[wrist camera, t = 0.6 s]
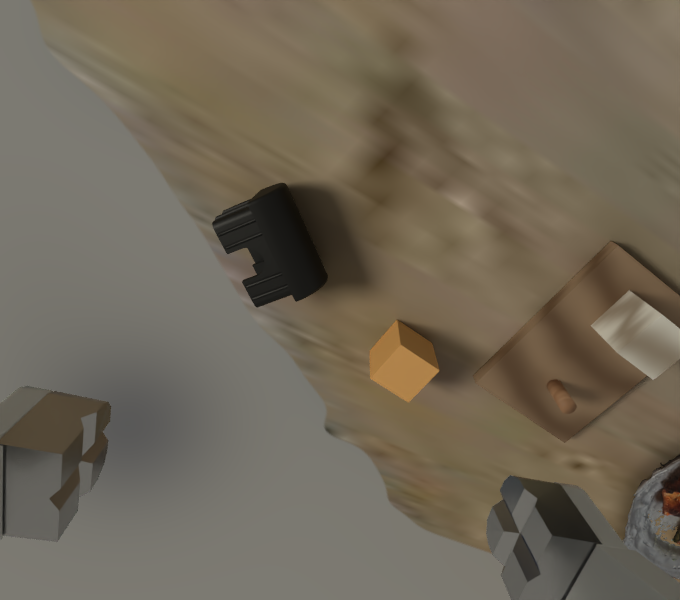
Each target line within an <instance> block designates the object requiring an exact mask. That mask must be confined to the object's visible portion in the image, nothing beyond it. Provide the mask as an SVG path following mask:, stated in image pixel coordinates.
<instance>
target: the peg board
mask: <svg viewBox="0 0 680 600" xmlns="http://www.w3.org/2000/svg"><path fill="white" fill-rule="evenodd" d="M679 359H680V296H679V295H678V294H677V293H676V292H674V291H673V290H672V289H671V288H669V287H668V286H667V285H666V284H665V283H663V282H662V281H661V280H660V279H658V278H657V277H656V276H655V275H654V274H652V273H651V272H650V271H649V270H648V269H646V268H645V267H644V266H643V265H641V264H640V263H639V262H638V261H637V260H635V259H634V258H633V257H632V256H631V255H629V254H628V253H627V252H626V251H624V250H623V249H622V248H621V247H620V246H618V245H617V244H615V243H613V242H612V241H610V242H609V243H608V244H607V245H606V246H605V247H604V248H603V249H602V250H601V251H600V252H599V253H598V254H597V255H596V256H595V257H594V258H593V259H592V260H591V261H590V262H589V263H588V264H587V265H586V266H585V267H583V268H582V269H581V270H580V271H579V272H578V273H577V274H576V275H575V276H574V277H573V278H572V279H571V280H570V281H569V282H568V283H567V284H566V285H565V286H564V287H563V288H562V289H561V290H560V291H559V292H558V293H557V294H556V295H555V296H554V297H553V298H552V299H551V300H550V301H549V302H548V303H547V304H546V305H545V306H544V307H543V308H542V309H541V310H540V311H539V312H538V313H537V314H536V315H534V316H533V317H532V318H531V319H530V320H529V321H528V322H527V323H526V324H525V325H524V326H523V327H522V328H521V329H520V330H519V331H518V332H517V333H516V334H515V335H514V336H513V337H512V338H511V339H510V340H509V341H508V342H507V343H506V344H505V345H504V346H503V347H502V348H501V349H500V350H499V351H498V352H497V353H496V354H495V355H494V356H493V357H492V358H491V359H490V360H489V361H488V362H486V363H485V364H484V365H483V366H482V367H481V368H480V369H479V370H478V371H477V372H476V373H475V374H474V375H473V377H474V380H475V382H476V384H478V385H479V386H481V387H482V388H484V389H485V390H487V391H488V392H490V393H491V394H493V395H494V396H496V397H497V398H499V399H500V400H502V401H503V402H505V403H506V404H508V405H509V406H511V407H512V408H514V409H515V410H517V411H518V412H519V413H521V414H522V415H524V416H525V417H527V418H528V419H530V420H531V421H533V422H534V423H536V424H537V425H539V426H540V427H542V428H543V429H545V430H546V431H548V432H549V433H551V434H552V435H554V436H555V437H557V438H558V439H560V440H561V441H563V442H564V443H565V442H566V441H568V440H569V439H570V438H571V437H572V436H574V435H575V434H576V433H577V432H579V431H580V430H581V429H582V428H584V427H585V426H586V425H587V424H588V423H590V422H591V421H592V420H593V419H595V418H596V417H597V416H598V415H600V414H601V413H602V412H603V411H604V410H606V409H607V408H608V407H609V406H611V405H612V404H613V403H614V402H616V401H617V400H618V399H619V398H620V397H622V396H623V395H624V394H625V393H627V392H628V391H629V390H630V389H632V388H633V387H634V386H635V385H636V384H638V383H639V382H640V381H641V380H643V379H644V378H645V377H646V376H649V377H650V378H651V379H653V380H654V379H655V378H657V377H658V376H659V375H660V374H662V373H663V372H664V371H665V370H667V369H668V368H669V367H670V366H672V365H673V364H674V363H675V362H676V361H678V360H679Z"/></svg>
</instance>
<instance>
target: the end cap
mask: <svg viewBox="0 0 680 600" xmlns="http://www.w3.org/2000/svg"><path fill="white" fill-rule="evenodd" d="M212 225H213V228H214V230H215V232H216V234H217V236H218V238H219V240H220V242H221V244H222V245H223V247H224V249H225V251H226V253H227V254H229V253H232V252H234V251H237V250H239V249H242V248H248V250H249V252H250V253H251V255H252V257H253V259H254V261H255V264H253V267H254V269H255V271H256V273H257V275H255V276H253V277H250V278H247V279H245V280H243V281H242V283H243V285H244V286H245V288H246V290H247V292H248V294H249V296H250V298H251V300H252V301H253V303H254V305H255V306H256V307H260V306H262V305H265V304H268V303H271V302H273V301H276V300H279V299H281V298H284V297H287V296H290V295H293V297H294V299H295V301H296V302H297V301H299V300H302V299H304V298H306V297H308V296H309V295H311V294H313V293H314V292H316V291H317V290H319V289H320V288H321V287H322V286H323V285H324V284H325V283H326V281H327V279H328V275H327V273H326V271H325V268H324V266H323V264H322V262H321V259H320V257H319V255H318V253H317V251H316V248H315V246H314V244H313V242H312V240H311V237H310V235H309V233H308V231H307V229H306V226H305V224H304V222H303V220H302V218H301V215H300V213H299V211H298V209H297V207H296V204H295V202H294V200H293V198H292V196H291V193H290V191H289V189H288V187H287V185H286V184H285V183H279V184H275V185H272V186H270V187H267V188H265V189H262V190H260V191H259V192H258V193H257V194H256V195H255V196H254V197H253V198H252V199H250V200H247V201H245V202H243V203H240V204H238V205H235V206H233V207H231V208H229V209H226V210H224V211H223V213H222V214H221V215H219V216H217V217H216V218H215V221H213V223H212Z"/></svg>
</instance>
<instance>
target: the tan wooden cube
mask: <svg viewBox="0 0 680 600" xmlns="http://www.w3.org/2000/svg"><path fill="white" fill-rule="evenodd" d="M439 371H440V370H439V366H438V362H437V359H436V355H435V352H434V348H433V344H432V343H431V342H430V341H428V340H427V339H425V338H424V337H422V336H421V335H419V334H418V333H416V332H415V331H413V330H412V329H410V328H409V327H407V326H406V325H404V324H403V323H402V322H400V321H399V320H396V321H395V322H394V324H393V325H392V326H391V327H390V328H389V329H388V330H387V332H386V333H385V334H384V335H383V336H382V337H381V338H380V340H379V341H378V342H377V343H376V344H375V345H374V347H373V348H372V349H371V350H370V379H372V380H373V381H375V382H377V383H378V384H380V385H381V386H383V387H385V388H386V389H388V390H389V391H391V392H392V393H394V394H396V395H397V396H399V397H400V398H402V399H403V400H405V401H407V402H408V403H409V402H410V400H411V399H412V398H413V397H414V396H415V395H416V394H417V393H418V392H419V391H420V390H421V389H422V388H423V387H424V386H425V385H426V384H427V383H428V382H429V381H430V380H431V379H432V378H433V377H434V376H435V375H436V374H437V373H438V372H439Z"/></svg>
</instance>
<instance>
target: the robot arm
mask: <svg viewBox="0 0 680 600" xmlns="http://www.w3.org/2000/svg"><path fill="white" fill-rule="evenodd" d="M110 415H111V406H110V404H109V402H106V401H101V400H97V399H92V398H87V397H82V396H77V395H72V394H67V393H62V392H57V391H54V392H53V391H51V390H46V389H41V388H36V387H30V386H25V387H20V388H18V389H17V390H15V391H14V392H13V393H12V394H11V395H10V396H8V397H7V398H6V399H5V400H3V401H2V402H1V403H0V540H1V539H2V536H11V537H20V538H28V539H38V540H47V541H55V542H57V541H58V540H59V539H60V537H61V535H62V534H63V532H64V531H65V529H66V528H67V526H68V525H69V523H70V522H71V520H72V519H73V517H74V516H75V514H76V513H77V511H78V502H79V497H81V496H83V495H84V494H86V493H88V492H90V491H91V489H92V487H93V486H94V484H95V483H96V481H97V480H98V477H99V475H100V472H101V470H102V467H103V465H104V462H105V458H106V454H107V448H108V439H107V438H106V437H105V435H104V433H103V430H104V429H105V428H106V426H107V425H108V423H109V422H110ZM500 492H501V495H502V498H503V500H501V501H500V502H498V503H497V504H495V505H494V506H493V507H492V509H491V511H490V514H489V516H488V519H487V531H486V534H487V539H488V544H489V547H490V550H491V552H492V555H493V556H494V557H495V558H496V559H497V560H498V561H499V562H500V563H501V564H502V565H503V566H504V568H503V571H502V573H501V576H502V579H503V581H504V584H505V586H506V588H507V591H508V593H509V596H510V598H511V600H680V583H679V582H678V581H677V580H675V579H674V578H672V577H671V576H670V575H668V574H667V573H666V572H664V571H663V570H661V569H660V568H659V567H657V566H656V565H655V564H653V563H652V562H651V561H649V560H648V559H646V558H645V557H644V556H642V555H641V554H640V553H638V552H637V551H635V550H629V549H628V548H627V547H626V545H625V544H624V543H623V541H622V540H621V539H620V537H619V536H618V535H617V533H616V532H615V531H614V529H613V528H612V527H611V525H610V524H609V523H608V521H607V520H606V519H605V517H604V516H603V515H602V513H601V512H600V511H599V509H598V508H597V507H596V505H595V504H594V503H593V501H592V500H591V499H590V497H589V496H588V495H587V493H586V492H585V491H584V490H583V489H581V488H580V487H578V486H576V485H569V484H563V483H556V482H555V483H551V482H545V481H540V480H534V479H528V478H522V477H517V476H511V475H510V476H509V477H508V478H507V479H506V480H505V481H504V483H503V485H502V487H501V489H500Z"/></svg>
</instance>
